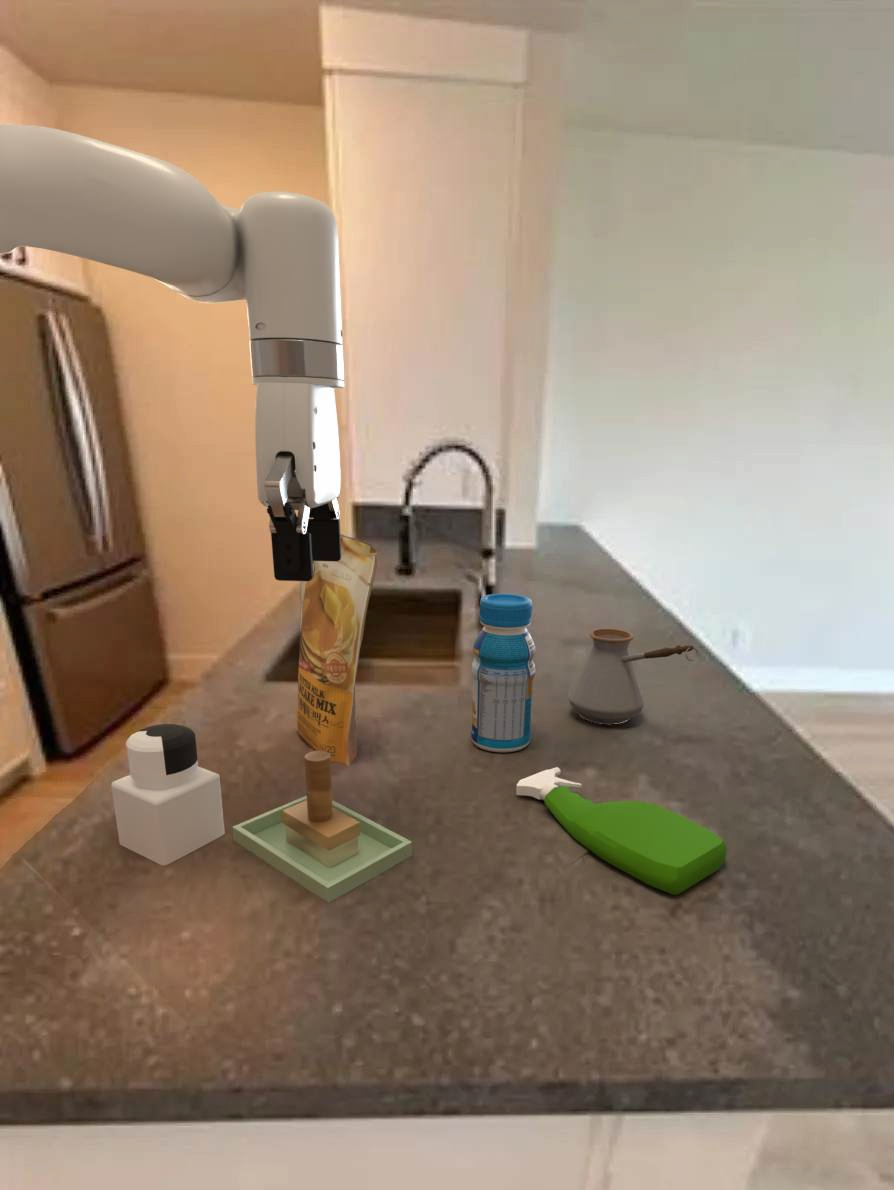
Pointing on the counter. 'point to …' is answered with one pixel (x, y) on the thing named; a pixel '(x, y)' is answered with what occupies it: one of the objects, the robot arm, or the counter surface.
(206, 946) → the counter surface
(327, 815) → the brush
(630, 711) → the coffee pot
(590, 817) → the spray bottle
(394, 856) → the tray
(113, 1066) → the counter surface
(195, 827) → the medicine bottle
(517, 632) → the beverage bottle
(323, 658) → the pancake mix bag
